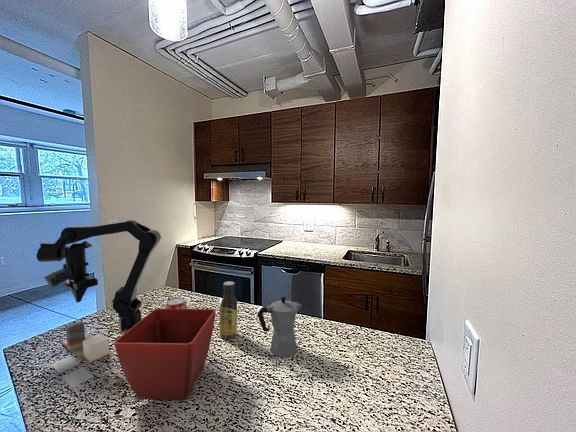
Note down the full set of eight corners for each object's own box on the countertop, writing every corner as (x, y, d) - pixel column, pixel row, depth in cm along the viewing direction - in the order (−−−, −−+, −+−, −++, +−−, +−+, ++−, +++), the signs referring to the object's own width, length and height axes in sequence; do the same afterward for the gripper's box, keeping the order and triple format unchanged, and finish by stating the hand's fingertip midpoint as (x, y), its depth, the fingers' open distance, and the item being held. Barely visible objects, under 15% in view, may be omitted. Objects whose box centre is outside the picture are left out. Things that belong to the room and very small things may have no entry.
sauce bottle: (216, 338, 93) (214, 284, 92) (226, 329, 99) (225, 279, 97) (231, 341, 91) (230, 286, 89) (241, 333, 97) (240, 281, 95)
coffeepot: (296, 338, 93) (296, 289, 92) (307, 353, 84) (307, 299, 83) (254, 346, 88) (254, 295, 87) (261, 363, 79) (261, 306, 78)
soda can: (179, 341, 91) (178, 306, 90) (162, 339, 92) (160, 304, 91) (191, 331, 98) (190, 298, 97) (174, 329, 99) (173, 296, 98)
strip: (61, 343, 89) (60, 327, 89) (85, 334, 95) (84, 319, 94) (87, 366, 77) (86, 348, 77) (113, 354, 83) (112, 337, 82)
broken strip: (50, 367, 77) (50, 364, 77) (71, 358, 81) (71, 355, 81) (72, 391, 68) (71, 387, 68) (94, 380, 72) (94, 376, 72)
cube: (83, 356, 81) (82, 340, 80) (102, 348, 85) (101, 333, 85) (90, 361, 78) (89, 346, 78) (108, 353, 82) (108, 338, 82)
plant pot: (157, 359, 81) (155, 307, 80) (217, 360, 81) (216, 308, 79) (115, 409, 62) (111, 342, 61) (193, 411, 62) (191, 344, 60)
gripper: (37, 261, 92) (40, 303, 93) (57, 269, 82) (60, 317, 83) (75, 255, 101) (77, 294, 103) (97, 262, 92) (99, 304, 93)
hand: (78, 301), depth 95 cm, fingers closed
